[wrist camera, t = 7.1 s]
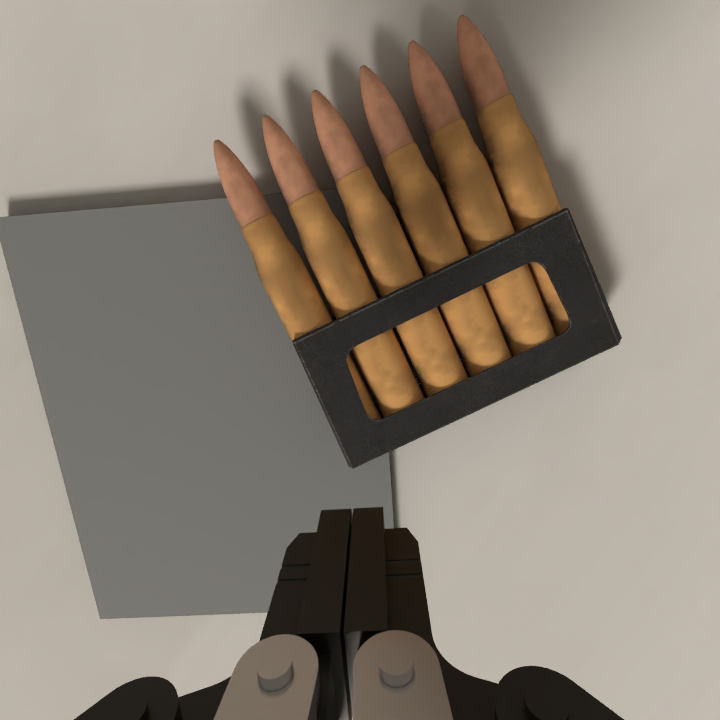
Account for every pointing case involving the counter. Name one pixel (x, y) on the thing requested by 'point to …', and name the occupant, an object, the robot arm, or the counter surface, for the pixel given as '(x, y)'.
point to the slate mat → (178, 403)
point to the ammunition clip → (423, 259)
